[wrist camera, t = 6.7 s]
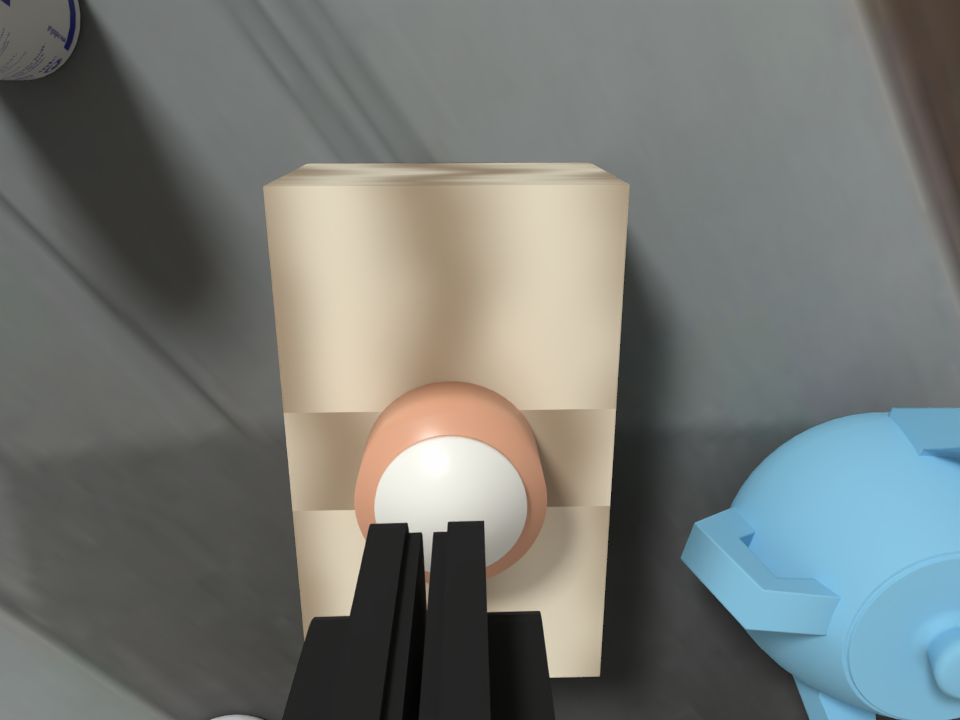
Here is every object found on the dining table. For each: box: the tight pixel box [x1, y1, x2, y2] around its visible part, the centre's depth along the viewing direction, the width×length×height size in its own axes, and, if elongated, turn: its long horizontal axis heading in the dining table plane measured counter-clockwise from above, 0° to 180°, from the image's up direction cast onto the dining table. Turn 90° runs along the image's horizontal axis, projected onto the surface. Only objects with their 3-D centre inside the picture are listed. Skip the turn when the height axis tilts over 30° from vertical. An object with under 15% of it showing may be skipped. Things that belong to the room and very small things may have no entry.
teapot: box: [680, 408, 960, 720], centre depth 35 cm, size 15×15×11 cm
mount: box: [263, 163, 630, 678], centre depth 33 cm, size 12×20×8 cm, turn 0°
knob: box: [354, 381, 547, 583], centre depth 31 cm, size 6×6×11 cm
